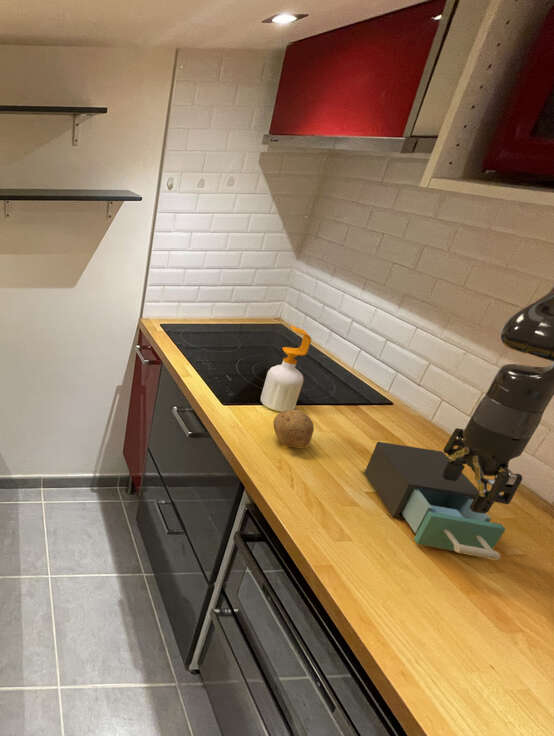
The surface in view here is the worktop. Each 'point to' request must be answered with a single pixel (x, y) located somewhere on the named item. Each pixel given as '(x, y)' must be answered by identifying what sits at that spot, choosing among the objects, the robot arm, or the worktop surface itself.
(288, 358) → the soap bottle
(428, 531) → the teal drawer
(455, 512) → the pale blue rectangular block
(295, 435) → the brown potato
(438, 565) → the worktop surface
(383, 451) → the dark grey drawer cabinet
